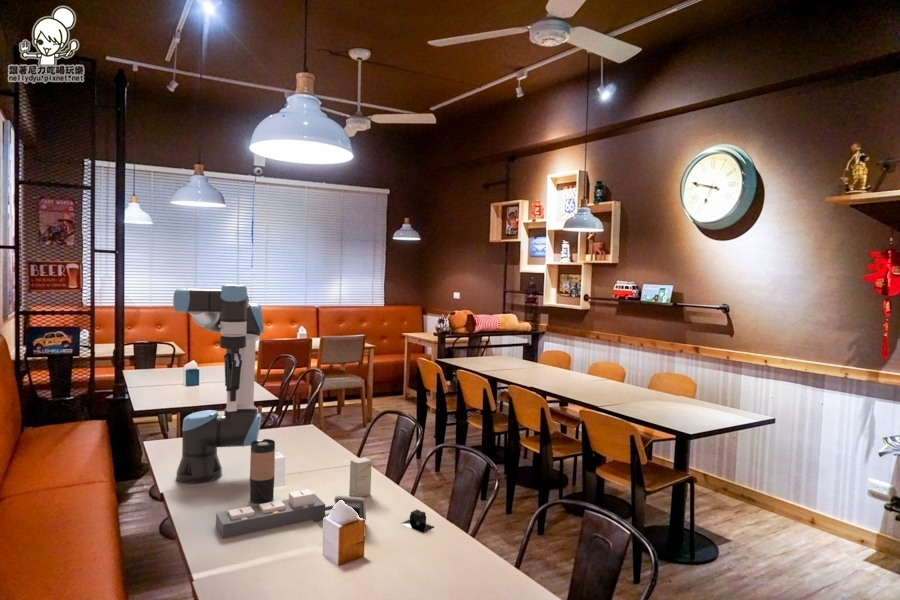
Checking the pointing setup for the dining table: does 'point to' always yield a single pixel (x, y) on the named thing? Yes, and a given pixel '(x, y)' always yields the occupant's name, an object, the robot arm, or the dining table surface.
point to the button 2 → (271, 507)
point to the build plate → (418, 521)
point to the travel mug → (262, 471)
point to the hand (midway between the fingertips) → (231, 410)
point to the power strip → (270, 518)
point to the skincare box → (360, 477)
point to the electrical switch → (354, 504)
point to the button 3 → (301, 498)
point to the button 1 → (240, 513)
